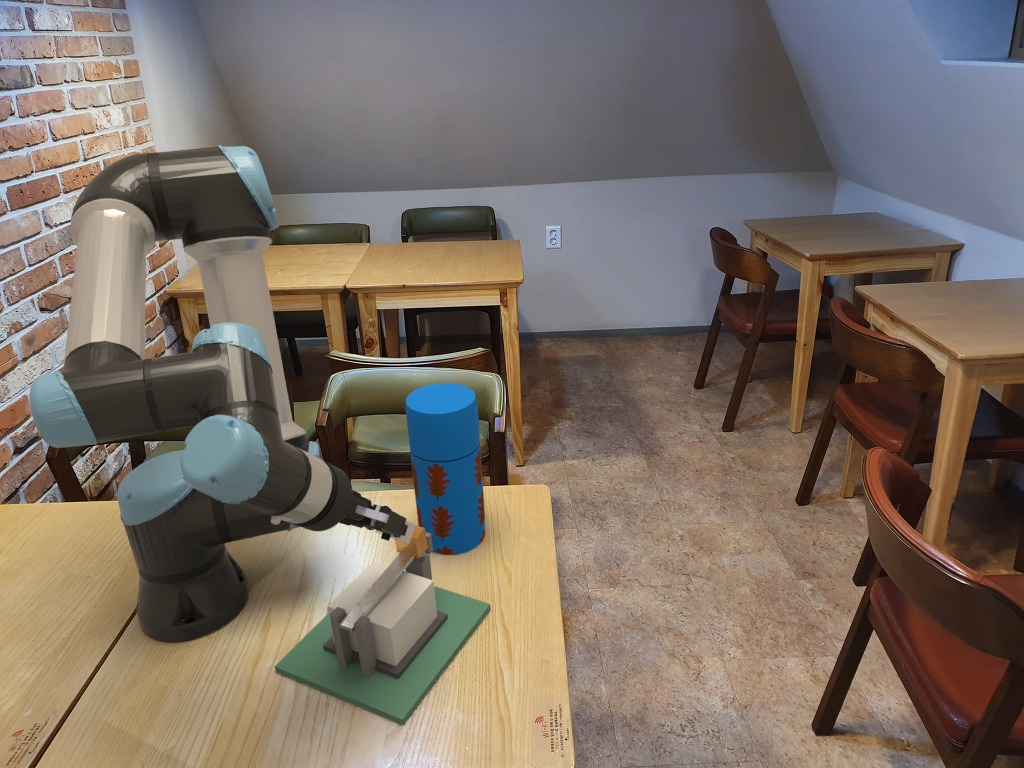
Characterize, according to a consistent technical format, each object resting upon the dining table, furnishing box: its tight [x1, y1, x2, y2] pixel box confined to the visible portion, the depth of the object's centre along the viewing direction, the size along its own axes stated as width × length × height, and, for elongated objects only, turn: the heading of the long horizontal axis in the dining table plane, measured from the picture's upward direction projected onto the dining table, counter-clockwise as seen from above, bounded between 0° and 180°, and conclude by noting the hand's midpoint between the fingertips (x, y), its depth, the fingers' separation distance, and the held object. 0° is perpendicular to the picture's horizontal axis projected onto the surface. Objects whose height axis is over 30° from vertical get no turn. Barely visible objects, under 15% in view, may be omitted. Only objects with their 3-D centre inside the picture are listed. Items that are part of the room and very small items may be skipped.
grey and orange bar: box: [339, 525, 428, 632], centre depth 101 cm, size 4×16×4 cm, turn 153°
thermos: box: [405, 382, 486, 556], centre depth 121 cm, size 11×11×25 cm
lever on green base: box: [274, 532, 492, 726], centre depth 103 cm, size 20×22×11 cm
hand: (407, 532), depth 104 cm, fingers closed
